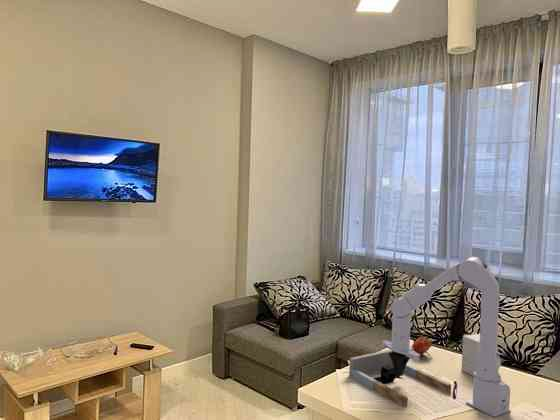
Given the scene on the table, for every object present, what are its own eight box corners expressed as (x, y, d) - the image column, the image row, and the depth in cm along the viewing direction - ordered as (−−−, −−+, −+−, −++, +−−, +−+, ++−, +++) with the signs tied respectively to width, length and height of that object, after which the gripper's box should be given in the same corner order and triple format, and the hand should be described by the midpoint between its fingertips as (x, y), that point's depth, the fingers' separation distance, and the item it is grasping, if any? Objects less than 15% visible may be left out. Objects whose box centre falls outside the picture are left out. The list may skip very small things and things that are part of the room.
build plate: (393, 373, 156) (394, 360, 155) (409, 381, 149) (410, 367, 149) (366, 379, 149) (367, 366, 149) (382, 388, 143) (383, 374, 143)
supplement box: (492, 375, 155) (494, 340, 154) (476, 378, 152) (478, 342, 152) (476, 367, 162) (478, 333, 161) (460, 370, 159) (462, 335, 158)
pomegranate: (430, 360, 174) (411, 340, 178) (442, 349, 170) (422, 328, 174) (422, 367, 168) (403, 346, 173) (433, 356, 164) (413, 335, 169)
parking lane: (450, 392, 141) (451, 373, 140) (403, 406, 130) (404, 386, 130) (393, 364, 162) (394, 348, 161) (349, 375, 151) (349, 358, 150)
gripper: (427, 339, 141) (425, 381, 141) (393, 326, 153) (391, 365, 154) (411, 342, 137) (409, 385, 138) (378, 329, 150) (376, 368, 150)
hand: (399, 375), depth 146 cm, fingers closed
